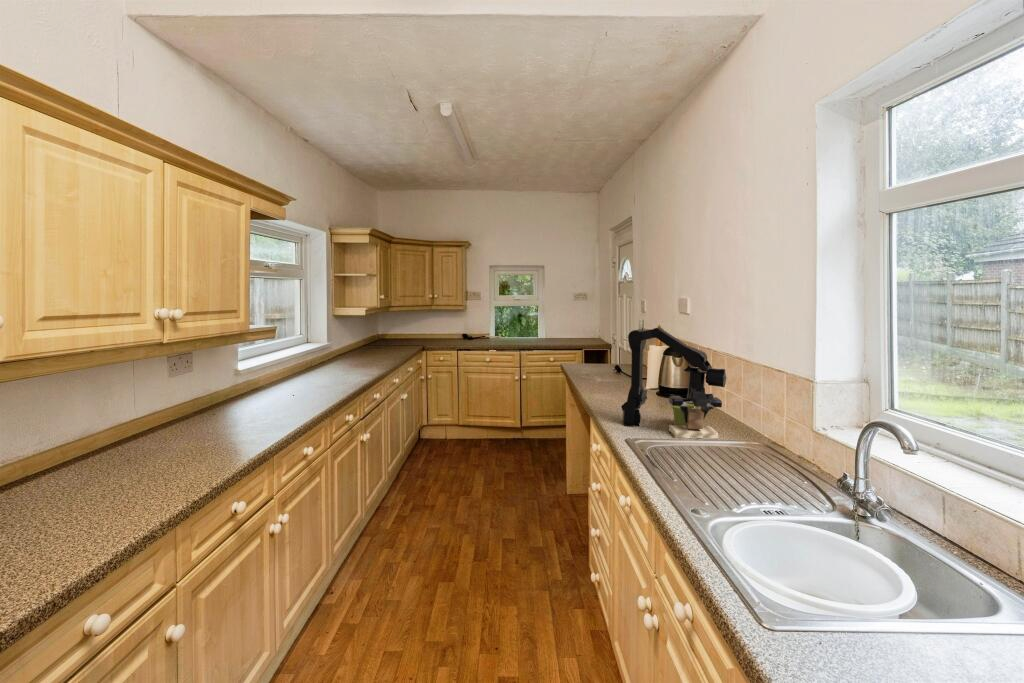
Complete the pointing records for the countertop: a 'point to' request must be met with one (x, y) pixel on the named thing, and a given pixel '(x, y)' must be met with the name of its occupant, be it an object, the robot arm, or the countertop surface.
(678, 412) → the plant pot
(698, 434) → the birch board
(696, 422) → the walnut peg
